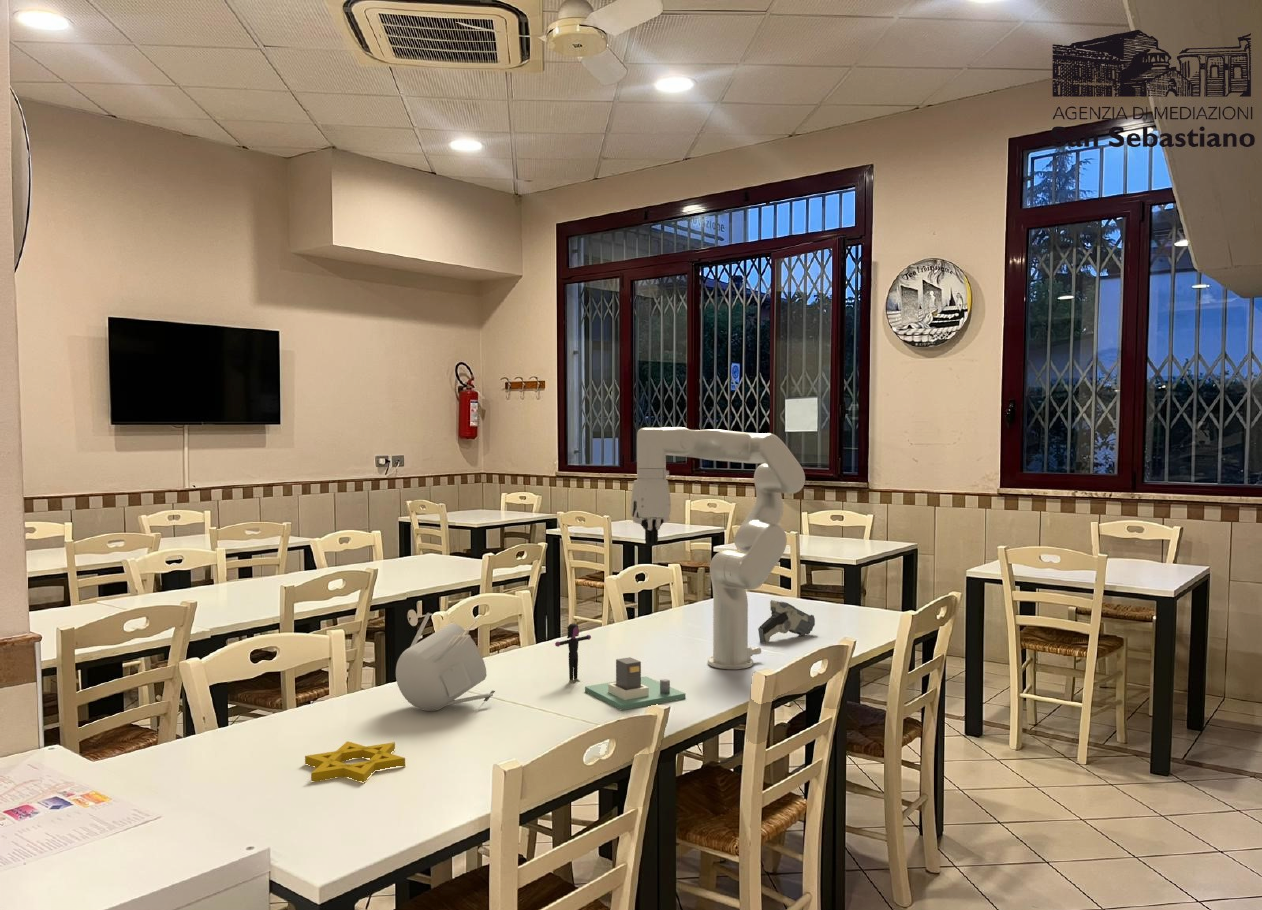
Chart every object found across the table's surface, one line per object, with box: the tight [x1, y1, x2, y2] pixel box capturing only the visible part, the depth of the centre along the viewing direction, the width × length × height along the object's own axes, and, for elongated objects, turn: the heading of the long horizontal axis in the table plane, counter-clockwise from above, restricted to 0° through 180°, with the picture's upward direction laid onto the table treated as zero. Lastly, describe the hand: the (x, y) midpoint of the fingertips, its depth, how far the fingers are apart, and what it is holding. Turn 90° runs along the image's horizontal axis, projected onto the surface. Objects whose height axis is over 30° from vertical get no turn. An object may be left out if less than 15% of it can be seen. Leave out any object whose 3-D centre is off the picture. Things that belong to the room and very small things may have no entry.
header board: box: [584, 676, 686, 711], centre depth 223 cm, size 18×18×4 cm
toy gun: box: [757, 599, 816, 644], centre depth 283 cm, size 4×21×15 cm, turn 124°
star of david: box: [304, 740, 406, 782], centre depth 176 cm, size 20×17×2 cm
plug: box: [615, 657, 642, 690], centre depth 219 cm, size 4×6×8 cm
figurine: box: [554, 622, 592, 684], centre depth 235 cm, size 12×4×15 cm, turn 136°
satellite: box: [395, 609, 496, 712], centre depth 212 cm, size 23×20×25 cm
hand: (651, 544), depth 238 cm, fingers closed
